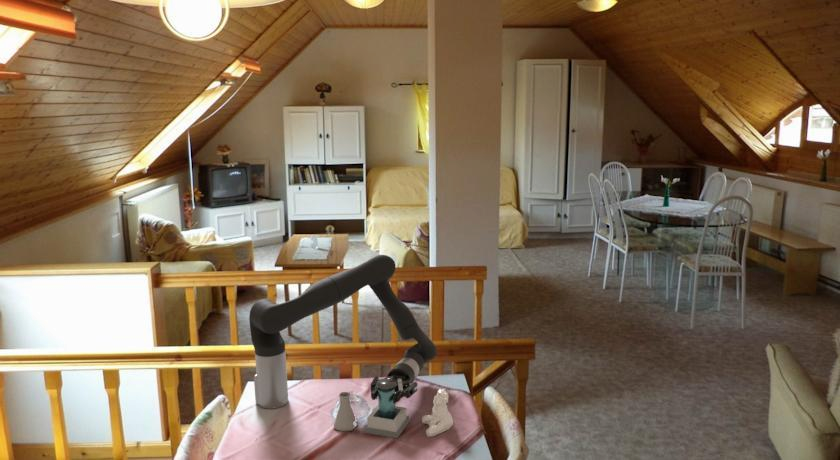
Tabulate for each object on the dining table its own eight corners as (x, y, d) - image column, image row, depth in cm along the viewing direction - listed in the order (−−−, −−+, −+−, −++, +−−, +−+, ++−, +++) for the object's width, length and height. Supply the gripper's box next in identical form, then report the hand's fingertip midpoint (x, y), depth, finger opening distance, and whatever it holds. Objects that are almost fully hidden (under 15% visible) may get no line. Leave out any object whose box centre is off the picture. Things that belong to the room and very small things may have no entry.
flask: (353, 433, 181) (352, 401, 178) (329, 430, 182) (328, 399, 180) (361, 420, 187) (360, 389, 185) (337, 418, 189) (336, 387, 187)
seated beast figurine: (420, 421, 187) (420, 383, 184) (449, 418, 188) (449, 380, 186) (427, 437, 178) (426, 398, 175) (456, 434, 179) (457, 395, 177)
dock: (364, 432, 181) (364, 418, 180) (378, 415, 190) (377, 402, 189) (397, 438, 177) (397, 423, 176) (409, 421, 187) (409, 407, 186)
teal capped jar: (374, 424, 182) (373, 384, 180) (382, 416, 187) (380, 377, 185) (392, 426, 180) (391, 386, 178) (399, 418, 185) (398, 379, 183)
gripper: (382, 359, 196) (359, 383, 181) (425, 365, 192) (406, 390, 176) (382, 382, 198) (360, 406, 182) (426, 388, 193) (407, 414, 178)
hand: (383, 398), depth 179 cm, fingers open, 6 cm apart
